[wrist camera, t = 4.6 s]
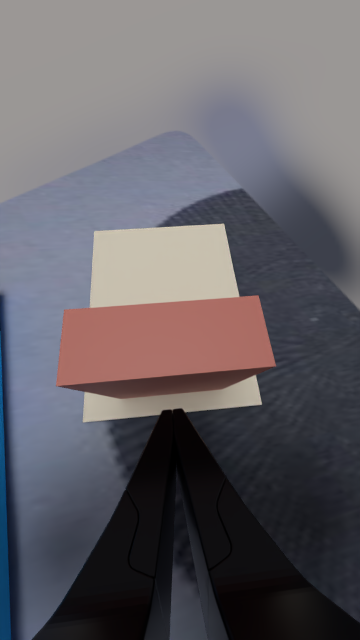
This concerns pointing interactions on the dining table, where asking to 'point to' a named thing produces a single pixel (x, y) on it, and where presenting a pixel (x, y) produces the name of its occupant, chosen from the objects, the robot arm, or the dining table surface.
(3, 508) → the book
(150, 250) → the mat
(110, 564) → the robot arm
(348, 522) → the dining table surface
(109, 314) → the card box
